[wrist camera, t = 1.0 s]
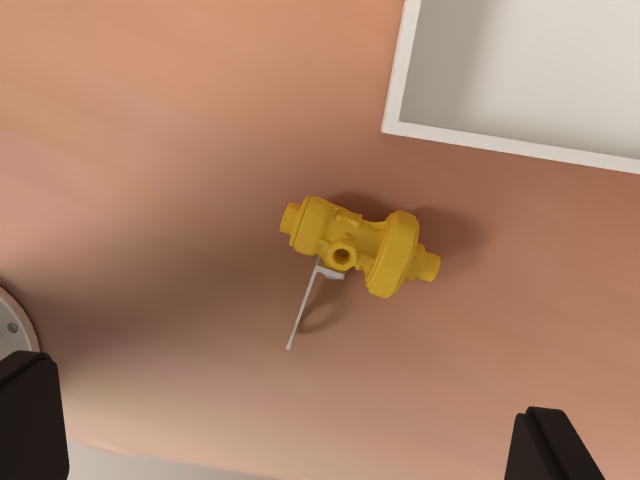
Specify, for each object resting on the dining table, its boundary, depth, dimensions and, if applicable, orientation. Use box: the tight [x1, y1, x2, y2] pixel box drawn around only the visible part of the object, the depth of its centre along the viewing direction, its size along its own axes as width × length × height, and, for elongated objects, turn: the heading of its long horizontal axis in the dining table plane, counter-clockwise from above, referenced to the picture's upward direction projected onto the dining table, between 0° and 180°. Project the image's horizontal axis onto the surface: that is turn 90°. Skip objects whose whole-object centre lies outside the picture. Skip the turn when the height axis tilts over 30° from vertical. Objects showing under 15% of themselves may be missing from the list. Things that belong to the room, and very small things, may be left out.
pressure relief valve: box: [280, 196, 441, 350], centre depth 31 cm, size 6×12×10 cm
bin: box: [381, 0, 640, 174], centre depth 25 cm, size 13×17×5 cm
